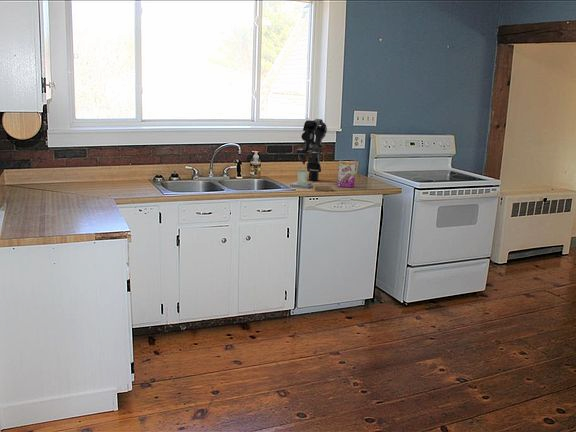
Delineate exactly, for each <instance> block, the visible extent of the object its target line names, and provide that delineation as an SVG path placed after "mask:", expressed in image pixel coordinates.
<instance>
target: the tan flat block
mask: <svg viewBox="0 0 576 432" xmlns="http://www.w3.org/2000/svg"><path fill="white" fill-rule="evenodd" d="M331 187H332V186H331V185H330V184H329V183H314V184H313V186H312V189H313V190H314V191H321V192H331V189H332V188H331Z"/></svg>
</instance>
